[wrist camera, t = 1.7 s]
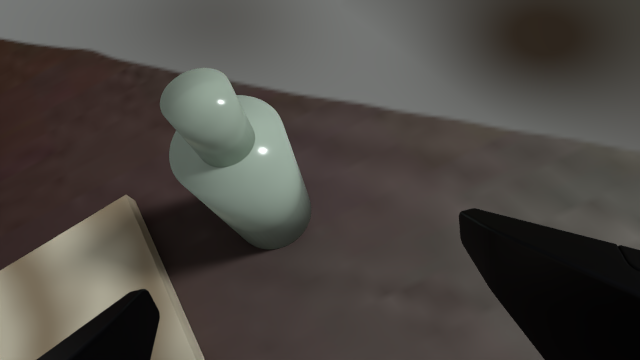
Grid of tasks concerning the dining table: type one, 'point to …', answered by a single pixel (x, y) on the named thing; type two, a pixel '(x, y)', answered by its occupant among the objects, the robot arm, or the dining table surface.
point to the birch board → (89, 286)
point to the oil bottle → (236, 158)
